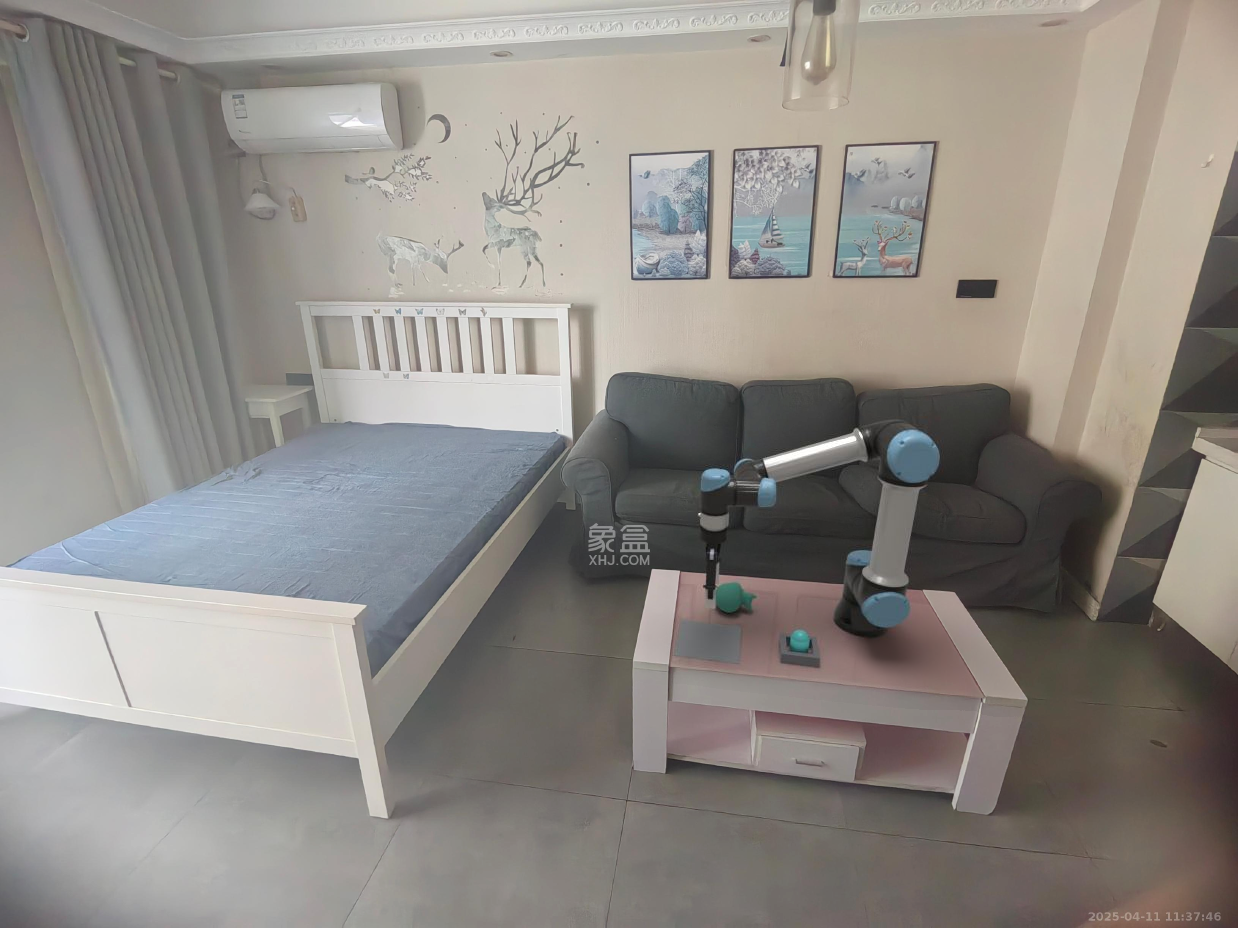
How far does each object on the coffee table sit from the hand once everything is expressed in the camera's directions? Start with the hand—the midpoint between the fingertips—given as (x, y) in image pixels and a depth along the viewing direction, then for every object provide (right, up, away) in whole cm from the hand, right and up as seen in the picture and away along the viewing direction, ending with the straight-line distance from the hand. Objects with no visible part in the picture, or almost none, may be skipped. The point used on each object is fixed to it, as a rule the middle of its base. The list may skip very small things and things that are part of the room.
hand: (712, 594), depth 172 cm
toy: (+16, -6, +17) cm, 24 cm away
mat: (0, -14, +5) cm, 15 cm away
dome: (+24, -16, -1) cm, 29 cm away
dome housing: (+24, -16, -1) cm, 29 cm away
